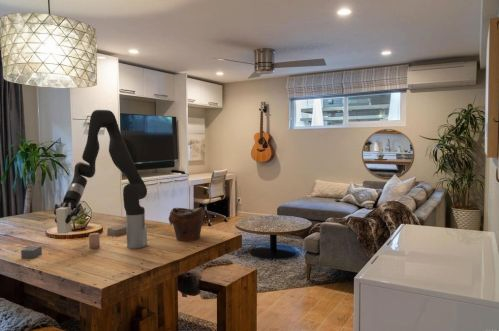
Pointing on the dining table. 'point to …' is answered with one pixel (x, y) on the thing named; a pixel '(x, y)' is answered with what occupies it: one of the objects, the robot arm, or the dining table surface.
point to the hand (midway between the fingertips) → (61, 222)
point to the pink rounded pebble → (94, 240)
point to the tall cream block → (63, 220)
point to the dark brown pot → (187, 223)
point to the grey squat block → (31, 252)
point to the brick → (117, 230)
